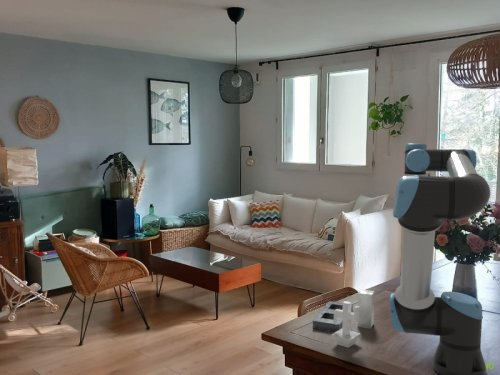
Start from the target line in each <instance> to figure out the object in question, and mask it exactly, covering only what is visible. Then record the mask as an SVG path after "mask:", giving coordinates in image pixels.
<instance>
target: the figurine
mask: <svg viewBox="0 0 500 375" xmlns="http://www.w3.org/2000/svg"><path fill="white" fill-rule="evenodd" d="M342 303H343V309H342V310H339V309H336V310H335V311H334V324H335V325H337V324H339V318H342V319H343V325H342V329H340V330H338V331H337V332H333V333H332V334H331V336H332V338H333V339H334V341H335V343H336V345H337V346H341V347H345V348H348V349H349V348H351V347H352V346H353V345H355V344H356V342H357V340H358V338H359V337H360V335H361V333H360V332H357V331H353V330H351V322H355V323H358V321H359V319H360V307H359V306H358V305H356V306H354V308H353V312H351V304H352V302H351V301H342Z"/></svg>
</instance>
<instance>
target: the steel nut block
mask: <svg viewBox="0 0 500 375" xmlns="http://www.w3.org/2000/svg"><path fill="white" fill-rule="evenodd" d="M357 294H358V296H357V306H359V307H360V319H359V321H358V322H357V327H359V328H365V329H372V327H373V325H374V317H375V316H374V314H375V312H374V310H375V309H374V308H375V307H374V306H375V290H368V289H360V290H359V292H358V293H357Z"/></svg>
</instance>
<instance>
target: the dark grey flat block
mask: <svg viewBox="0 0 500 375" xmlns="http://www.w3.org/2000/svg"><path fill="white" fill-rule="evenodd" d="M336 309H339V310H342V309H343V302H339V301H338V302H337V301H331V300H329V301H328V302H327V303H326V304H325V306H324V307H323V308H322V309H321V310H320V312H318V314H317V315H316V316H315V318H314V319H313V320H312V329H315V330H321V331H326V332H333V333H335V332H337V331H338V330H340V329H342V325H343V319H342V318H339V324H337V325H335V324H334V311H335V310H336ZM351 312H352V313H354V304H353V303H351Z"/></svg>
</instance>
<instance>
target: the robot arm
mask: <svg viewBox="0 0 500 375" xmlns="http://www.w3.org/2000/svg"><path fill="white" fill-rule="evenodd" d="M476 168H477V152H476V151H475V150H473V149H465V148H463V149H456V148H455V149H449V148H448V149H446V148H445V149H444V148H443V149H441V148H440V149H439V148H438V149H435V148H432V149H431V148H428V147H427V144H426V143H409V142H408V143H406V144H405V148H404V172H403V174H404V175H403V176H401V177H400V178H399V179H398V180H397V184H396V187H395V192H394V199H393V205H392V206H393V207H392V208H393V209H392V216H393V218H395V219H397V222H398V224H399V226H401V227H402V229H403V230H402V242H401V244H402V246H401V247H402V248H401V264H400V266H401V267H400V284H399V286H397V287H396V288H395V291H394V292H393V293H392V292H391V293H390V295H389V309H390V311H389V312H390V321H391V326H392V328H393V329H394V331H397V332H399V333H405V334H416V335H417V334H418V335H429V336H438V337H439V342H438V344H437V347H436V350H435V352H434V355H433V357H432V368H433V369H434V371H435V372H436V373H438V374H440V375H486V374H487V366H486V362H485V359H484V355H483V353H482V350H481V348H482V345H481V344H482V328H483V327H482V326H483V318H484V316H483V306H482V303H481V301H480V300H478V299H477V298H475V297H473V296H471V295H468V294H465V293H462V292H457V291H443V292H442V293H441V294H440V296H435V294H434V291H433V290H432V289H431V283H432V271H433V261H434V249H435V248H434V247H435V238H436V231H437V230H439V229H440V228H441V227H442V225H443V220H444V221H462V220H463V221H464V220H466V219H469V218H471V217H474V216H475V215H477V214H479V213H480V212H481V211H482V210H483V209H484V208H485V207H486V206H487V205H488V203H489V201H490V198H491V189H490V188H491V187H490V185H489V183H488V181H487V180H486V178H484V177H483V176H482V175H481V174H479V173H478V172H477V170H476ZM427 172H443V173H444V172H447V173H448V175H449V176H443V175H442V176H437V175H435V176H432V175H428V176H427Z"/></svg>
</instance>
